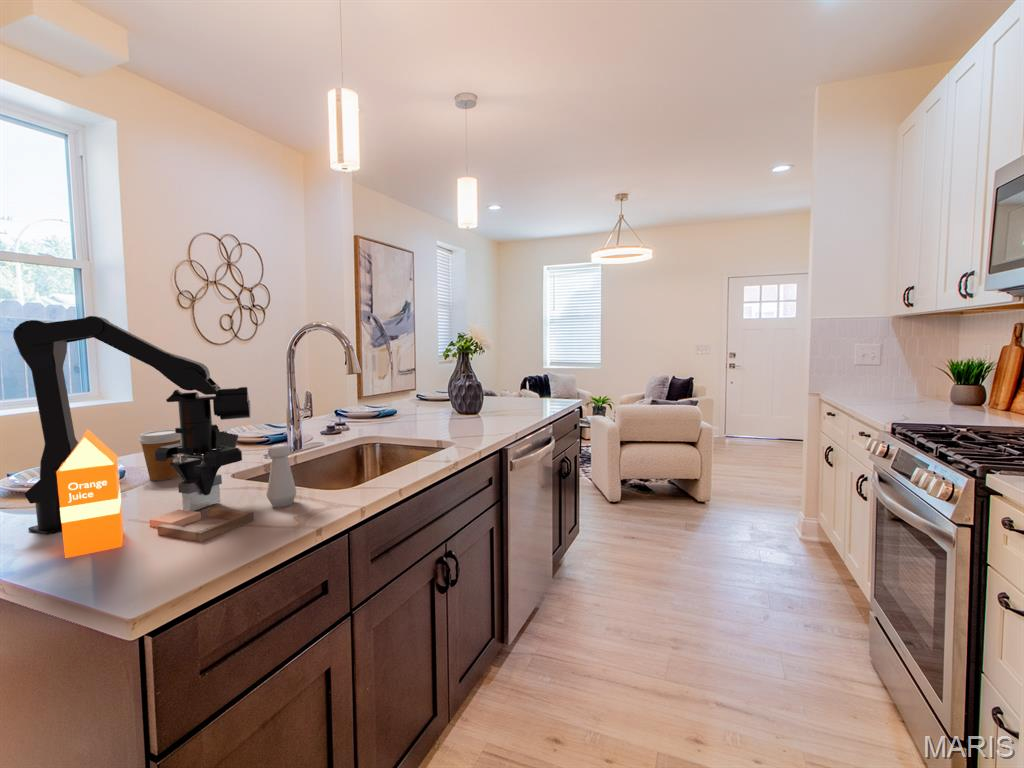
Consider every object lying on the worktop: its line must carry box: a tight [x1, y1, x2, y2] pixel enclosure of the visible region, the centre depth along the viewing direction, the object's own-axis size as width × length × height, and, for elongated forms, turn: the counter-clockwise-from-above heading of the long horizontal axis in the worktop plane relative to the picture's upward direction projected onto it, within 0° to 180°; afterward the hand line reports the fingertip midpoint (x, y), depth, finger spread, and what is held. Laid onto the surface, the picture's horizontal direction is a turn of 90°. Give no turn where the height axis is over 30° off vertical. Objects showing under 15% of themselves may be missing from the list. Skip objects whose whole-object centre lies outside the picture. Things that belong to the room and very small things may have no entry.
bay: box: [156, 506, 255, 543], centre depth 96 cm, size 11×11×2 cm
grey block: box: [177, 473, 223, 512], centre depth 108 cm, size 3×8×6 cm, turn 159°
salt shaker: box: [266, 443, 297, 508], centre depth 109 cm, size 6×6×13 cm
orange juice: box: [56, 429, 125, 559], centre depth 88 cm, size 8×9×20 cm
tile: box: [149, 509, 202, 528], centre depth 99 cm, size 6×6×2 cm
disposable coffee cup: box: [138, 429, 181, 481], centre depth 133 cm, size 10×10×12 cm
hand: (201, 494), depth 108 cm, fingers closed on grey block, 3 cm apart
